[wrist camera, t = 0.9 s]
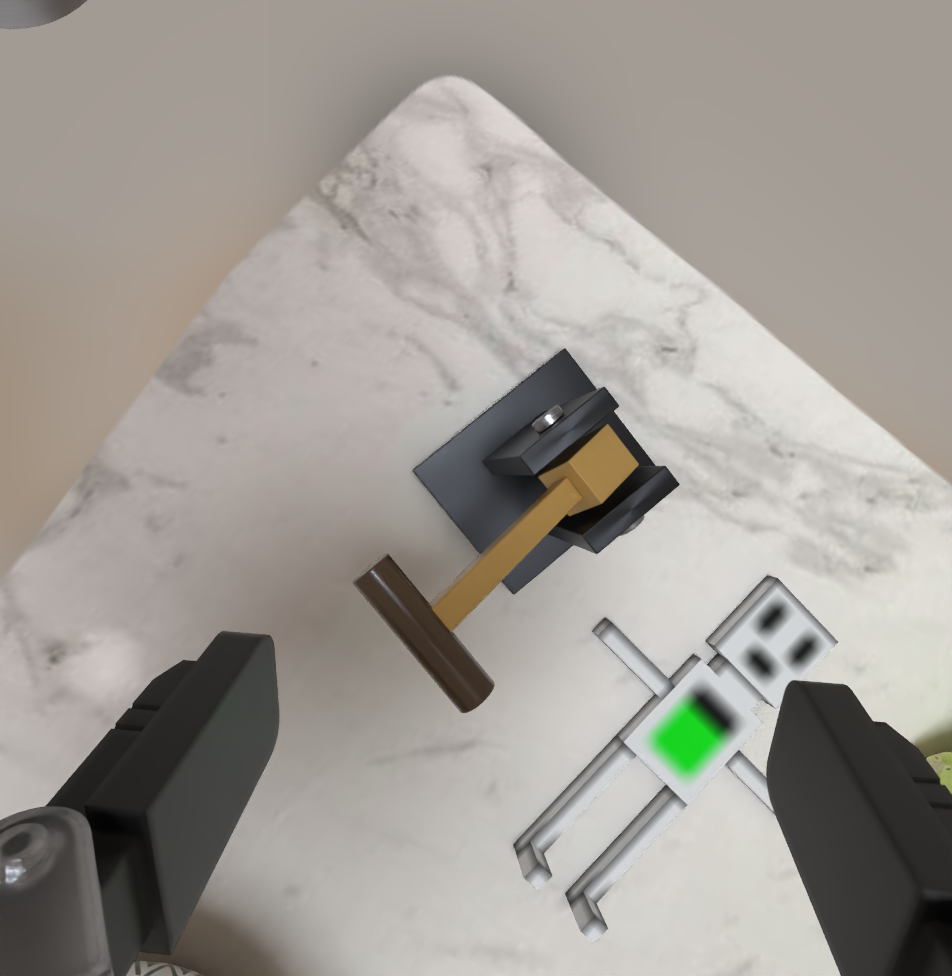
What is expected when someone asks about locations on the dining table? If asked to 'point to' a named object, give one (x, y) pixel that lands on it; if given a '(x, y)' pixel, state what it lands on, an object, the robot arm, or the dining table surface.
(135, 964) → the planter
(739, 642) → the robot figure
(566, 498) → the lock lever
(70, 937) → the robot arm
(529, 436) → the bracket
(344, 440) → the dining table surface
